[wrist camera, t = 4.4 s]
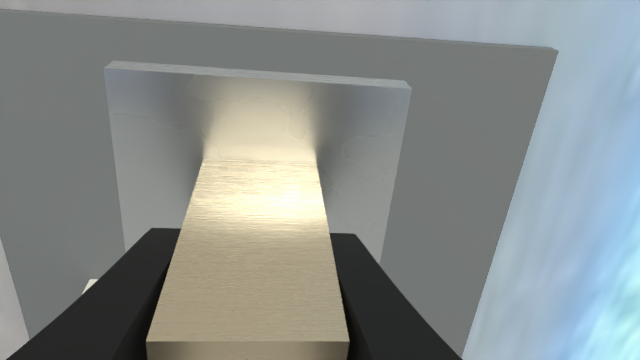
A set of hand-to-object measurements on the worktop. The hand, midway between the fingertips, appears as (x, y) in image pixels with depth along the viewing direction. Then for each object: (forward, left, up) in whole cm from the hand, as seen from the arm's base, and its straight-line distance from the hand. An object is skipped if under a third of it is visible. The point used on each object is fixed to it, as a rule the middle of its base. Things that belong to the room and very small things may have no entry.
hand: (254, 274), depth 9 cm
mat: (0, -7, -9) cm, 12 cm away
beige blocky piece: (0, 0, -3) cm, 3 cm away
